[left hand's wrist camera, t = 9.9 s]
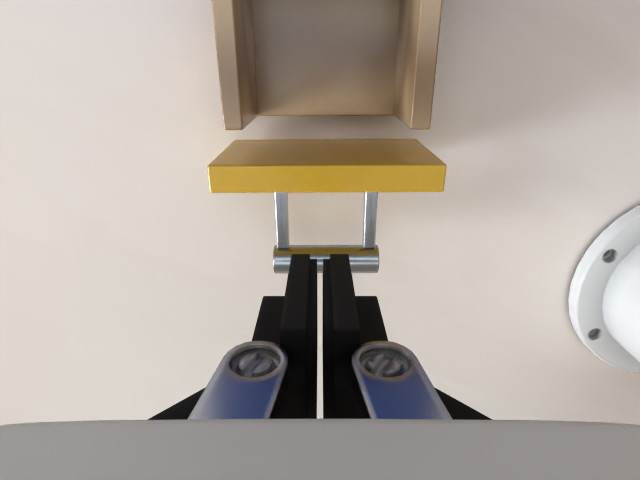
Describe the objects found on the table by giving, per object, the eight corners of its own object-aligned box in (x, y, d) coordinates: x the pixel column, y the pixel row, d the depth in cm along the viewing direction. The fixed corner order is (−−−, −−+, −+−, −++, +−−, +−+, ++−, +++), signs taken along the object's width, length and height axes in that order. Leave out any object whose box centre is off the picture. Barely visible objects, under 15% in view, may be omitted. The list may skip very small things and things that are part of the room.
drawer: (407, 248, 25) (431, 300, 20) (243, 248, 25) (222, 301, 20) (458, -345, 16) (532, -562, 10) (192, -343, 16) (123, -557, 10)
